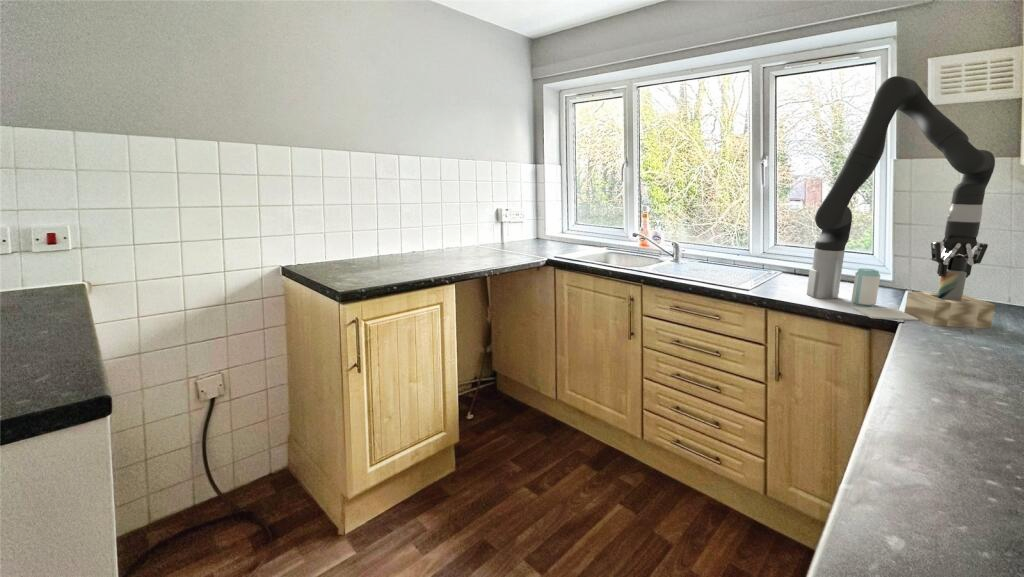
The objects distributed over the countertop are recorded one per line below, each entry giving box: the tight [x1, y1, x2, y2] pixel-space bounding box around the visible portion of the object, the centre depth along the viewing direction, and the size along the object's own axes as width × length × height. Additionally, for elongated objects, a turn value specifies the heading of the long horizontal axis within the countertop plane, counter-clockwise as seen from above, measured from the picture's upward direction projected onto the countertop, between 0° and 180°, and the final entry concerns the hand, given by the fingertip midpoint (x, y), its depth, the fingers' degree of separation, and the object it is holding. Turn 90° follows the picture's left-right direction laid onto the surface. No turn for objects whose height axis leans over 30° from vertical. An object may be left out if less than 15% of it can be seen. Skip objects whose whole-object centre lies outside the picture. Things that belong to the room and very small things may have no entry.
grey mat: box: [852, 306, 919, 321], centre depth 166 cm, size 13×13×1 cm
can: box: [850, 267, 881, 307], centre depth 179 cm, size 7×7×12 cm
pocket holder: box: [903, 291, 996, 329], centre depth 159 cm, size 15×15×7 cm
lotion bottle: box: [937, 254, 967, 301], centre depth 158 cm, size 6×6×20 cm
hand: (953, 276), depth 157 cm, fingers closed on lotion bottle, 5 cm apart
